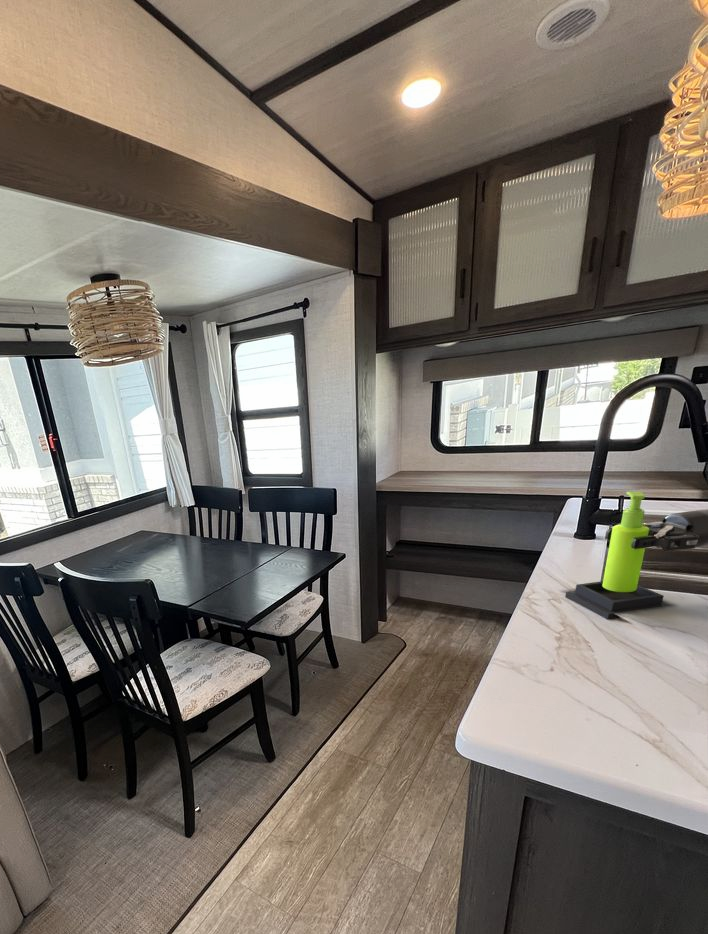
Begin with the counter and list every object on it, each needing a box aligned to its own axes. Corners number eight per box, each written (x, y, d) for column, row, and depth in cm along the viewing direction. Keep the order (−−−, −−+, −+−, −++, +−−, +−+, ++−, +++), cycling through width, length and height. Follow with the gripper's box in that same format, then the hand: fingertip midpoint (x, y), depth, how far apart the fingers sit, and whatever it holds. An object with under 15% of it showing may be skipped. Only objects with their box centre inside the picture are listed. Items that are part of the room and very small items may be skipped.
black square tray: (621, 589, 108) (624, 576, 106) (669, 610, 97) (674, 596, 95) (565, 596, 106) (567, 583, 105) (607, 619, 95) (610, 605, 94)
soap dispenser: (631, 581, 102) (650, 489, 94) (639, 593, 96) (660, 496, 88) (599, 579, 104) (614, 490, 97) (605, 591, 99) (622, 497, 91)
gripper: (667, 503, 102) (596, 513, 100) (737, 519, 89) (656, 530, 87) (658, 536, 105) (589, 546, 103) (725, 556, 92) (646, 567, 90)
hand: (620, 539), depth 95 cm, fingers closed on soap dispenser, 6 cm apart
